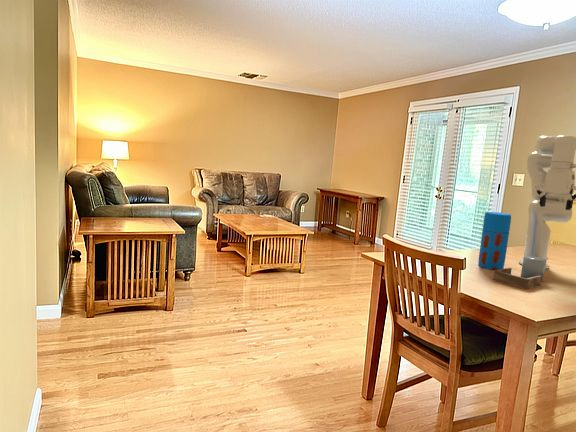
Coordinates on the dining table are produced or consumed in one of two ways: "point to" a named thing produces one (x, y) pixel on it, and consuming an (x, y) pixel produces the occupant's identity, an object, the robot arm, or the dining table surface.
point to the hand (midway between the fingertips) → (554, 208)
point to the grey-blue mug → (533, 267)
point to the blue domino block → (494, 240)
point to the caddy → (516, 279)
